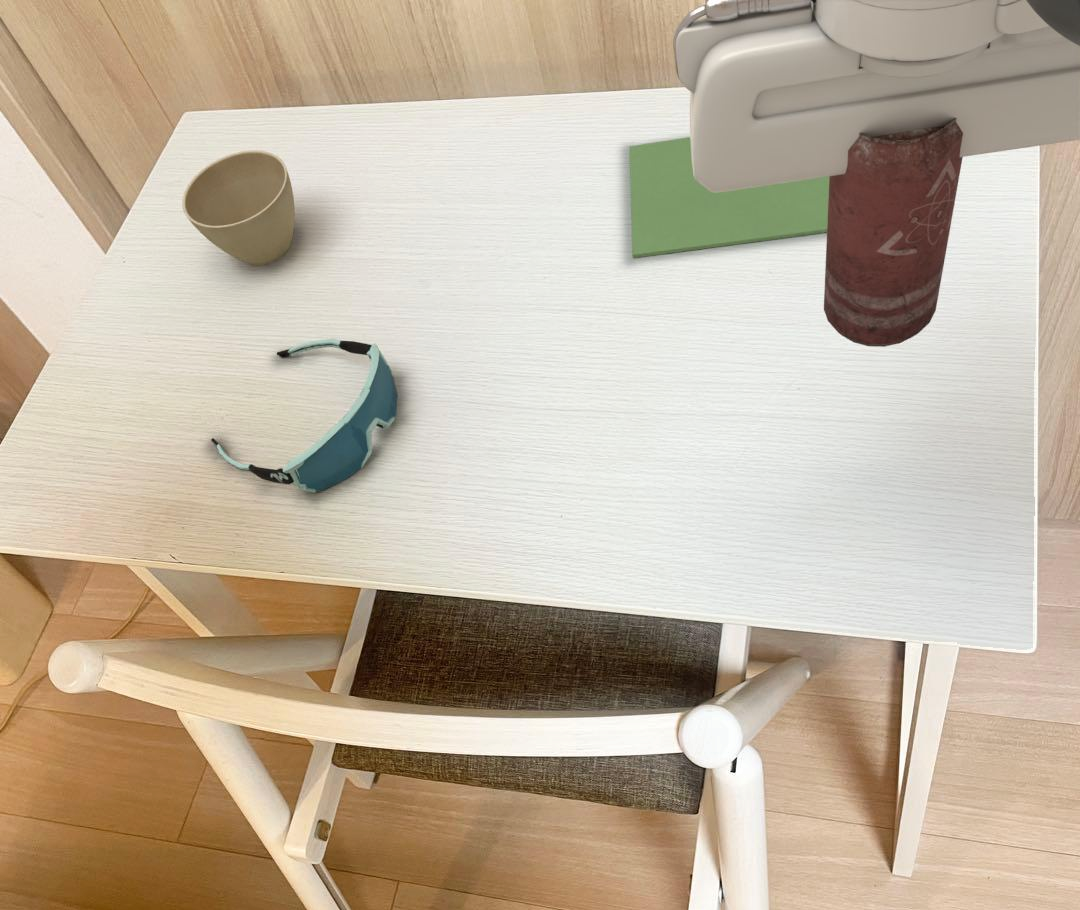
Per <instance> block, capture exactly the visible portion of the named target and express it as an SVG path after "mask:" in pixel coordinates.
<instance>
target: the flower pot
mask: <svg viewBox="0 0 1080 910" xmlns="http://www.w3.org/2000/svg"><path fill="white" fill-rule="evenodd" d="M181 204H182V210H183V211H182V212H183V213H184V215H185V217H186V218H187V219H188V220H189V222H190V223H191V224H192V226H194V228H195V229H196V230H197V231H198V232H199V233H200V234H201V235H202V236H203V237H205V238H206V239H207V240H208V241H209V242H210V243H211V244H213V245H215V247H217V248H218V249H220V250H221V251H223V252H224V253H226V254H228V255H229V256H232V258H235V259H237V260H239V261H241V262H244V263H247V264H250V265H251V266H252V265H254V266H263V265H264V266H265V265H267V264H271V263H274V262H275V261H277V260H279V259H280V258H281V257H283V256H284V255H285V254H286V253H287V251H288V250H289V249H290V248H291V245H292V242H293V236H294V229H295V217H296V216H295V215H296V214H295V213H296V212H295V211H296V210H295V197H294V190H293V187H292V181H291V177H290V175H289V171H288V169H287V166H286V164H285V163H284V161H283V160H282V159H281V158H280V157H279V156H277V155H276V154H274V153H271V152H268V151H264V150H255V149H254V150H243V151H237V152H234V153H231V154H228V155H225V156H223V157H220V158H219V159H217V160H215V161H213V162H211V163H209V164H208V165H206V166H205V167H204V168H202V169H201V170H200V171H199V172H198V173H197V174H196V175H195V176H194V177H193V178H192V179H191V181H190V182H189V183H188V184H187V187H186V188H185V190H184V193H183V197H182V201H181Z"/></svg>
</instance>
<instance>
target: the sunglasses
mask: <svg viewBox="0 0 1080 910" xmlns="http://www.w3.org/2000/svg"><path fill="white" fill-rule="evenodd" d="M378 347H379V346H377V344H376V343H375V342H374V343H372V344H369V343H364V342H359V341H354V340H341V339H337V338H329V339H328V338H327V339H321V340H320V339H319V340H314V341H313V340H312V341H309V342H305V343H301V344H299V345H295V346H293V347H291V348H288V349H285V350H280V351H277V352H276V355H277V356H278V357H280V358H281V359H284V358H289V357H292V356H295V355H299V354H301V353H304V352H308V351H311V350H318V349H324V348H334V349H339V350H342V351H345V352H348V353H351V354H355V355H356V354H357V355H362V356H367V357H368V358H369V360H370V366H369V371H368V375H367V377H366V380H365V382H364V385H363V387H362V390H361V392H360V394H359V395H358V397H357V398H356V400H355V401H354V402H353V404H352V406H351V407H350V408H349V410H348V412H346V414H345V415H344V416H343V417H342V418H341V419H339V421H338V422H337V423H336V424H335V425H334V426H333V427H332V428H331V429H330V430H328V432H326V433H325V434H324V435H323V436H321V438H320V439H318V440H317V441H316V442H315V443H314V444H313V445H311V446H310V447H309V448H307V449H306V450H305V451H303V452H302V453H300V454H299V455H297V456H296V457H294V458H292V459H291V460H289V462H288V463H287V464H286V465H285V467H283V468H282V467H280V468H277V469H274V468H267V467H261V466H260V467H259V466H256V465H254V464H252V463H251V464H248V463H245V464H243V463H240V462H238V461H237V460H234V459H232V458H231V457H230V456H228V454H227V453H226V451H225V449H224V448H223V446H222V445H221V444H220V443H219V442H218V441H217V440H216V439H215V438H214V437H213V438H211V439H210V441H211V442H212V443H213V444H214V445H215V446H216V448H217V451H218V454H220V455H221V457H222V458H223V459H224V460H225V461H226V462H227V463H228V464H229V465H230V466H232V467H233V468H235V469H237V470H238V471H240V472H243V473H251V474H254V475H255V476H256V477H258V478H259V479H261V480H264V481H267V482H271V483H276V484H282V485H288V486H289V485H292V486H293V487H294V488H298V489H299V490H300V491H302V492H308V493H313V494H315V493H316V492H320V491H322V490H325V489H328V488H330V487H331V486H335V485H336V484H338V483H340V482H342V481H344V480H346V479H349V478H350V477H351V476H353V475H354V474H355V473H357V472H358V471H359V470H361V469H363V468H364V466H365V465H366V463H367V461H368V460H369V458H370V456H371V454H372V452H373V439H372V432H373V431H374V429H375V427H378V428H380V429H384V427H387V428H389V427H390V426H391V425H392V424H393V423H394V421H395V420H396V419H397V406H398V405H397V404H398V391H397V387H396V382H395V376H394V373H393V370H392V369H391V367H390V365H389V363H388V362H387V360H386V358H385V357H384V355H383V353H382V352H381V350H380V349H379V348H378Z"/></svg>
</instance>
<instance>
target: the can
mask: <svg viewBox="0 0 1080 910" xmlns="http://www.w3.org/2000/svg"><path fill="white" fill-rule="evenodd" d="M956 119H957V118H954V119H953V120H952V121H951V122H950V123H949V124H948V125H946V126H939V127H933V128H926V129H919V130H913V131H906V132H900V133H893V134H887V135H880V136H874V137H869V136H867V135H865V134H863V133H859V137H858V139H857V140H856V141H855V142H854V144H853V145H852V146H851V147H850V149H849V150H848V163H847V169H846V173H845V174H842V175H835V176H830V177H829V200H828V223H827V232H826V246H825V248H826V249H825V269H824V271H825V272H824V292H823V294H824V295H823V311H824V314H825V316H826V319H827V322H828V323H829V324H830V325H831V327H833V329H834V330H835V331H836V332H837V333H838V334H839V335H840V336H842V337H844V338H846V339H847V340H848V341H850V342H852V343H854V344H858V345H862V346H866V347H876V348H877V347H889V346H894V345H899V344H901V343H903V342H906V341H908V340H910V339H912V338H913V337H915V336H917V335H918V334H920V333H921V331H923V330H924V329H925V328H926V327H927V326H928V325H930V323H931V322H932V319H933V317H934V316H935V313H936V311H937V305H938V301H939V295H940V288H941V282H942V277H943V272H944V265H945V261H946V254H947V248H948V242H949V238H950V237H949V236H950V231H951V227H952V226H951V225H952V221H953V214H954V208H955V204H956V203H955V202H956V198H957V191H958V187H959V186H958V185H959V180H960V176H961V175H960V173H961V169H962V163H963V159H964V157H960V148H961V142H962V137H963V132H962V131H961V129H960V127H959V126H958V124H957V123H956Z"/></svg>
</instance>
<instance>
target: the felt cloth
mask: <svg viewBox="0 0 1080 910" xmlns="http://www.w3.org/2000/svg"><path fill="white" fill-rule="evenodd" d="M629 172H630V173H629V175H630V177H629V178H630V179H629V180H630V211H631V247H632V248H631V249H632V258H633V259H635V258H636V259H637V258H645V257H651V256H658V255H666V254H674V253H681V252H688V251H697V250H704V249H712V248H719V247H727V246H734V245H740V244H748V243H757V242H764V241H771V240H779V239H786V238H794V237H802V236H803V237H804V236H809V235H817V234H824V233H827V223H828V200H829V177H830V176H828V177H821V178H814V179H808V180H801V181H794V182H787V183H780V184H773V185H766V186H760V187H753V188H746V189H739V190H733V191H726V192H717V193H715V192H710V191H709V190H708V189H706V188H705V187H704V186H702V185H701V184H700V183H699V182H698V181H696V180H695V178H694V175H693V167H692V158H691V142H690V136H688V137H683V138H681V137H680V138H674V139H668V140H662V141H654V142H650V143H649V142H648V143H643V144H637V145H630V146H629Z"/></svg>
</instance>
